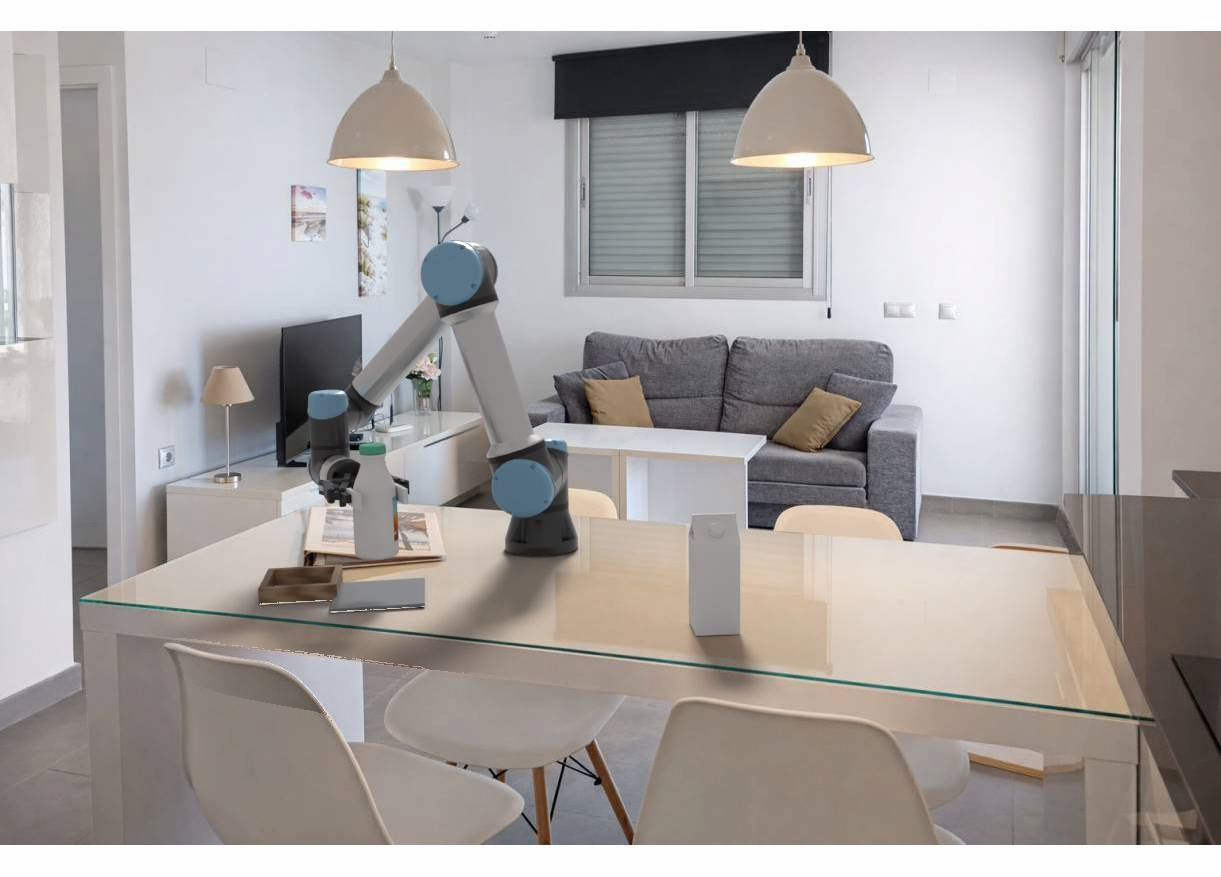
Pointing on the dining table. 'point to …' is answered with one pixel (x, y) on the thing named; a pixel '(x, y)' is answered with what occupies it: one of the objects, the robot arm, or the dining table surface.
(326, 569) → the tray
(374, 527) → the milk bottle
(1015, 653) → the dining table surface
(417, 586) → the trivet
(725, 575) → the milk carton
